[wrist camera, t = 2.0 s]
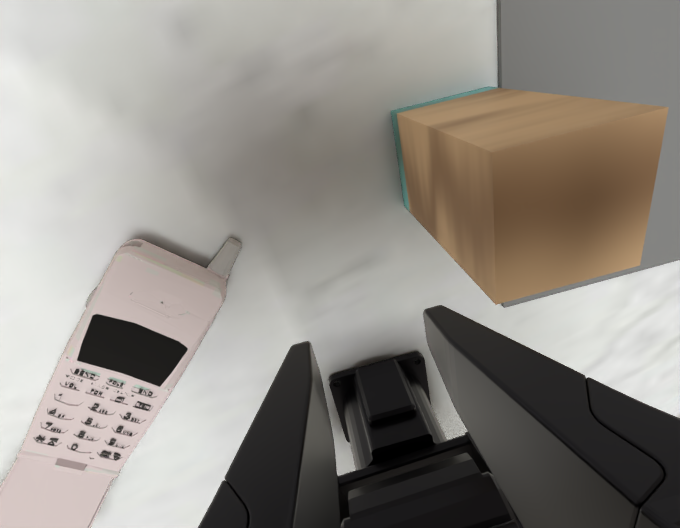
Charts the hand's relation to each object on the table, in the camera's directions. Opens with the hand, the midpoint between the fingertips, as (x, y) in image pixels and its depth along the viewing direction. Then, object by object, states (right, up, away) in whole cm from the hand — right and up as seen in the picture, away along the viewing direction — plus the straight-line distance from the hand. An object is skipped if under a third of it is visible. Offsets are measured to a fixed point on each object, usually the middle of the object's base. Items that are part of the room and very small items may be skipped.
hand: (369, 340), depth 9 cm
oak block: (+5, +8, +12) cm, 15 cm away
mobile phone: (-15, -6, +16) cm, 22 cm away
